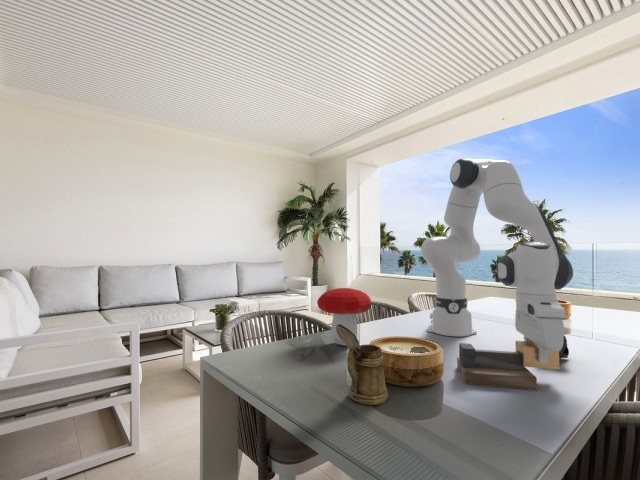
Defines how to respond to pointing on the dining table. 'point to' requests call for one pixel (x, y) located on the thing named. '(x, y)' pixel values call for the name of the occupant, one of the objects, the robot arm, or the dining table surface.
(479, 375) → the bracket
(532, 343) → the slotted cardboard block
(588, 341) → the dining table surface
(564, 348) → the seashell
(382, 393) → the wooden mug
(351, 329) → the mushroom
